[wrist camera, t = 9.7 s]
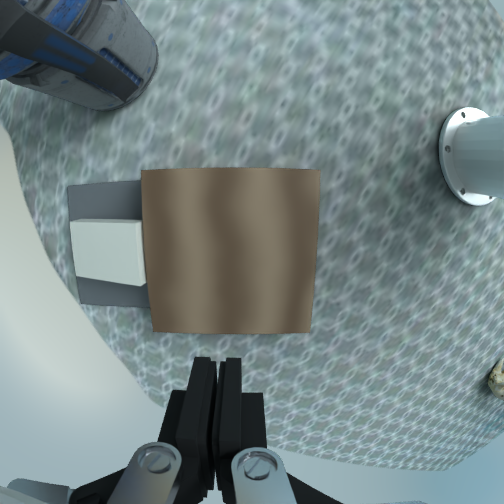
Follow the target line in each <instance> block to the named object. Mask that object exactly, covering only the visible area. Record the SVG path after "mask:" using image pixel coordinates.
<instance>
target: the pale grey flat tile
mask: <svg viewBox="0 0 504 504" xmlns="http://www.w3.org/2000/svg"><path fill="white" fill-rule="evenodd" d="M70 231H71V241H72V249H73V257H74V265H75V272H76V276H80V277H85V278H91V279H97V280H103V281H110V282H116V283H122V284H129V285H135V286H142V285H143V284H145V283H147V274H146V262H145V250H144V235H143V220H124V219H79V220H75V221H71V222H70Z"/></svg>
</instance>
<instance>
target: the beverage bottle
mask: <svg viewBox="0 0 504 504" xmlns="http://www.w3.org/2000/svg"><path fill="white" fill-rule="evenodd" d="M158 56H159V55H158V48H157V45H156V43H155V40H154V39H153V38H152V36H151V35H150V34H149V32H148V31H147V30H146V29H145V28H144V26H143V25H142V24H141V22H140V21H139V19H138V18H137V17H136V15H135V14H134V12H133V11H132V10H131V8H130V7H129V6H128V4H127V3H126V1H125V0H0V80H2V79H6V80H8V81H10V82H11V83H13V84H16V85H20V86H23V87H26V88H30V89H33V90H36V91H39V92H43V93H46V94H49V95H52V96H55V97H58V98H61V99H64V100H67V101H70V102H73V103H76V104H79V105H81V106H84V107H87V108H90V109H93V110H97V111H109V110H115V109H117V108H120V107H123V106H125V105H127V104H128V103H130V102H132V101H133V100H134V99H136V98H137V97H138V96H139V95H140V94H141V93H142V92H143V91H144V90H145V89H146V88H147V86H148V85H149V83H150V82H151V81H152V78H153V76H154V74H155V72H156V69H157V65H158Z"/></svg>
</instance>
